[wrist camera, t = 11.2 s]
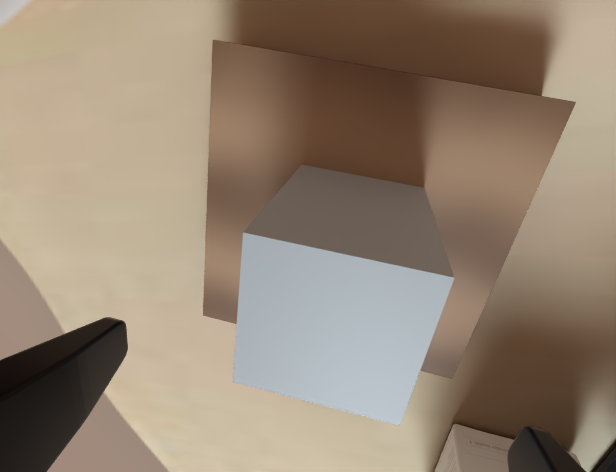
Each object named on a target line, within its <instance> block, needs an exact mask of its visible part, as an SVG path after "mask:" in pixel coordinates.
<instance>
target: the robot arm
mask: <svg viewBox="0 0 616 472" xmlns="http://www.w3.org/2000/svg"><path fill="white" fill-rule="evenodd" d="M127 350H128V343H127V331H126V324H125V322H124V321H122V320H118V319H115V318H111V317H106V318H103V319H100V320H98V321H95V322H93V323H90V324H88V325H86V326H83V327H81V328H78V329H76V330H73V331H71V332H68V333H66V334H63V335H61V336H58V337H56V338H53V339H51V340H49V341H46V342H44V343H41V344H39V345H36V346H34V347H31V348H29V349H27V350H24V351H21V352H19V353H17V354H14V355H12V356H9V357H7V358H4V359H2V360H0V472H47V470H48V469H49V468H50V467H51V465H52V464H53V463H54V461H55V460H56V459H57V457H58V456H59V455H60V453H61V452H62V451H63V449H64V448H65V447H66V445H67V444H68V443H69V442H70V440H71V439H72V437H73V436H74V435H75V434H76V432H77V431H78V429H79V428H80V427H81V426H82V424H83V423H84V421H85V420H86V418H87V417H88V416H89V414H90V412H91V411H92V409H93V408H94V406H95V405H96V403H97V402H98V400H99V398H100V397H101V395H102V394H103V392H104V390H105V389H106V387H107V386H108V384H109V382H110V381H111V379H112V377H113V376H114V374H115V373H116V371H117V369H118V368H119V366H120V365H121V363H122V361H123V360H124V358H125V356H126V354H127ZM507 462H508V469H509V472H586V471H585V470H584V469H583V468H582V467H581V466H580V465H579V464H578V463H577V462H576V461H575V460H574V458H573V457H572V456H571V455H570V454H569V453H568V452H567V451H566V450H565V449H564V448H563V447H562V446H561V445H560V444H559V442H558V441H557V440H556V439H555V438H554V437H553V436H552V435H551V434H550V433H549V432H548V431H546V430H544V429H540V428H536V427H532V426H529V425H526V426H524V427H522V428H521V430H520V432H519V433H518V435H517V436H516V438H515V440H514V441H513V443H512V445H511V446H510V448H509V450H508V455H507ZM595 472H616V447H615V448H614V449H613V450H612V452H611V453H610V454H609V455H608V457H607V458H606V459H605V460H604V462H603V463H602V464H601V465H600V466H599V468H598V469H597V470H596V471H595Z"/></svg>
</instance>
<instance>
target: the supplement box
mask: <svg viewBox="0 0 616 472" xmlns="http://www.w3.org/2000/svg"><path fill="white" fill-rule="evenodd" d="M513 441H514V440H513V439H509V438H505V437H501V436H498V435H494V434H490V433H486V432H482V431H479V430H475V429H472V428H468V427H465V426H462V425H458V424H454V425H453V427H452V429H451V431H450V434H449V436H448V439H447V441H446V443H445V446H444V449H443V451H442V453H441V456H440V459H439V461H438V464H437V466H436V468H435V471H434V472H509V469H508V462H507V455H508V450H509V448H510V446H511V445H512V443H513ZM568 453H569V452H568ZM569 454H570V455H571V456H572V457H573V458H574V460H575V461H576V462H577V463H578V464H579V465H580V463H579V461H578V458H577V456H576V455H575V454H573V453H569ZM580 466H581V465H580Z"/></svg>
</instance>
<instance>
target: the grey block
mask: <svg viewBox="0 0 616 472" xmlns="http://www.w3.org/2000/svg"><path fill="white" fill-rule="evenodd" d="M453 281H454V275H453V272H452V269H451V266H450V263H449V260H448V257H447V254H446V251H445V248H444V245H443V242H442V239H441V236H440V233H439V230H438V227H437V224H436V221H435V218H434V215H433V212H432V209H431V206H430V203H429V200H428V197H427V194H426V191H425V188H423V187H418V186H412V185H407V184H402V183H396V182H391V181H386V180H381V179H375V178H370V177H365V176H359V175H354V174H349V173H344V172H338V171H333V170H328V169H323V168H317V167H312V166H307V165H301V166H300V167H299V168H298V169H297V171H296V172H295V173H294V174H293V175H292V176H291V177H290V179H289V180H288V181H287V182H286V183H285V184H284V186H283V187H282V188H281V189H280V190H279V191H278V193H277V194H276V195H275V196H274V197H273V198H272V200H271V201H270V202H269V203H268V204H267V205H266V207H265V208H264V209H263V210H262V211H261V212H260V213H259V215H258V216H257V217H256V218H255V219H254V220H253V222H252V223H251V224H250V225H249V226H248V227H247V229H246V230H245V231H244V232H243V241H242V255H241V270H240V284H239V298H238V312H237V327H236V341H235V355H234V369H233V382H234V383H238V384H242V385H246V386H250V387H254V388H257V389H261V390H265V391H269V392H273V393H277V394H280V395H284V396H288V397H292V398H296V399H300V400H303V401H307V402H311V403H315V404H319V405H322V406H326V407H330V408H334V409H338V410H342V411H345V412H349V413H353V414H357V415H361V416H365V417H368V418H372V419H376V420H380V421H384V422H388V423H391V424H395V425H399V426H400V424H401V421H402V418H403V416H404V413H405V410H406V407H407V405H408V402H409V399H410V397H411V394H412V391H413V389H414V386H415V383H416V380H417V378H418V375H419V372H420V370H421V367H422V364H423V362H424V359H425V356H426V354H427V351H428V348H429V345H430V343H431V340H432V337H433V335H434V332H435V329H436V327H437V324H438V321H439V318H440V316H441V313H442V310H443V308H444V305H445V302H446V300H447V297H448V294H449V291H450V289H451V286H452V283H453Z"/></svg>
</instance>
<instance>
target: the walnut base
mask: <svg viewBox="0 0 616 472" xmlns="http://www.w3.org/2000/svg"><path fill="white" fill-rule="evenodd" d="M575 103H576V102H572V101H567V100H561V99H555V98H550V97H544V96H538V95H532V94H526V93H521V92H515V91H509V90H503V89H497V88H492V87H486V86H480V85H474V84H468V83H462V82H457V81H451V80H445V79H439V78H433V77H428V76H422V75H416V74H410V73H404V72H398V71H393V70H387V69H381V68H375V67H369V66H364V65H358V64H352V63H346V62H340V61H334V60H329V59H323V58H317V57H311V56H305V55H300V54H294V53H288V52H282V51H276V50H270V49H265V48H259V47H253V46H247V45H241V44H235V43H229V42H223V41H217V40H213V50H212V78H211V106H210V134H209V162H208V190H207V219H206V247H205V275H204V303H203V315H204V316H207V317H211V318H215V319H219V320H223V321H227V322H231V323H235V324H237V312H238V298H239V284H240V270H241V255H242V241H243V232H244V231H245V230H246V229H247V227H248V226H249V225H250V224H251V223H252V222H253V220H254V219H255V218H256V217H257V216H258V215H259V213H260V212H261V211H262V210H263V209H264V208H265V207H266V205H267V204H268V203H269V202H270V201H271V200H272V198H273V197H274V196H275V195H276V194H277V193H278V191H279V190H280V189H281V188H282V187H283V186H284V184H285V183H286V182H287V181H288V180H289V179H290V177H291V176H292V175H293V174H294V173H295V172H296V171H297V169H298V168H299V167H300V166H301V165H307V166H312V167H317V168H323V169H328V170H333V171H338V172H344V173H349V174H354V175H359V176H365V177H370V178H375V179H381V180H386V181H391V182H396V183H402V184H407V185H412V186H418V187H423V188H425V191H426V194H427V197H428V200H429V203H430V206H431V209H432V212H433V215H434V218H435V221H436V224H437V227H438V230H439V233H440V236H441V239H442V242H443V245H444V248H445V251H446V254H447V257H448V260H449V263H450V266H451V269H452V272H453V275H454V281H453V283H452V286H451V289H450V291H449V294H448V297H447V300H446V302H445V305H444V308H443V310H442V313H441V316H440V318H439V321H438V324H437V327H436V329H435V332H434V335H433V337H432V340H431V343H430V345H429V348H428V351H427V354H426V356H425V359H424V362H423V364H422V367H421V370H420V371H424V372H428V373H432V374H436V375H440V376H444V377H448V378H452V377H453V375H454V373H455V371H456V369H457V366H458V364H459V362H460V360H461V357H462V355H463V353H464V351H465V349H466V346H467V344H468V342H469V340H470V337H471V335H472V333H473V331H474V328H475V326H476V324H477V322H478V320H479V317H480V315H481V313H482V311H483V308H484V306H485V304H486V302H487V299H488V297H489V295H490V293H491V291H492V288H493V286H494V284H495V282H496V279H497V277H498V275H499V273H500V271H501V268H502V266H503V264H504V262H505V259H506V257H507V255H508V253H509V250H510V248H511V246H512V244H513V242H514V239H515V237H516V235H517V233H518V230H519V228H520V226H521V224H522V221H523V219H524V217H525V215H526V213H527V210H528V208H529V206H530V204H531V201H532V199H533V197H534V195H535V192H536V190H537V188H538V186H539V184H540V181H541V179H542V177H543V175H544V172H545V170H546V168H547V166H548V164H549V161H550V159H551V157H552V155H553V152H554V150H555V148H556V146H557V143H558V141H559V139H560V137H561V135H562V132H563V130H564V128H565V126H566V123H567V121H568V119H569V117H570V114H571V112H572V110H573V108H574V106H575Z"/></svg>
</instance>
